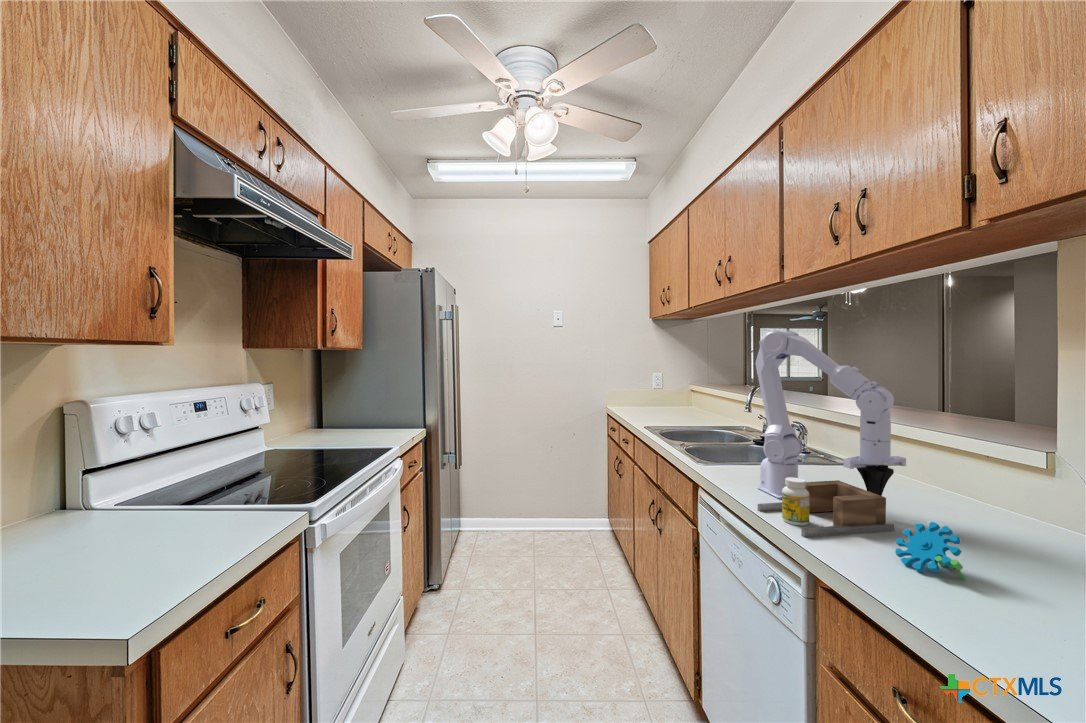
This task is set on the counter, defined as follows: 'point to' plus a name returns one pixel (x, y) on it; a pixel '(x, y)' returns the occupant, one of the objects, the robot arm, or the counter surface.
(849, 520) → the housing
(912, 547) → the gear
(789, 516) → the supplement bottle
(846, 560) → the counter surface
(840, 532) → the guide rails
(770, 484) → the robot arm
